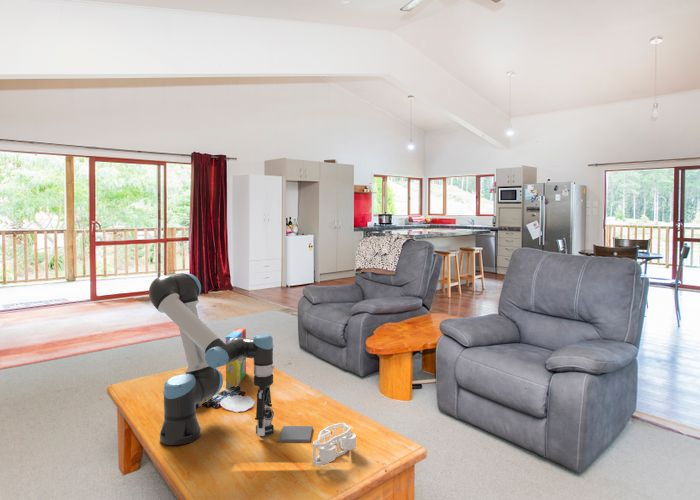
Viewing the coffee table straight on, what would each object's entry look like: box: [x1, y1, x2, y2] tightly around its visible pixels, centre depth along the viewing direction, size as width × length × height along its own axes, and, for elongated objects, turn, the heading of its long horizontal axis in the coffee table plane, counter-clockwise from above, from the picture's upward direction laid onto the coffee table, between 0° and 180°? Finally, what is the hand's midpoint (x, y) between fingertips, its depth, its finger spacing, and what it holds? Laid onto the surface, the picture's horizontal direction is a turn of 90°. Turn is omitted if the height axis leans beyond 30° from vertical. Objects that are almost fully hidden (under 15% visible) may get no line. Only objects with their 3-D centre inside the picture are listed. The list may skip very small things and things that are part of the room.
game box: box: [225, 328, 247, 389], centre depth 241 cm, size 21×6×27 cm, turn 179°
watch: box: [255, 405, 275, 438], centre depth 182 cm, size 6×8×11 cm
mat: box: [277, 425, 314, 443], centre depth 180 cm, size 12×12×1 cm
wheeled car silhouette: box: [312, 422, 357, 467], centre depth 165 cm, size 20×11×7 cm, turn 139°
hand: (264, 429), depth 182 cm, fingers open, 10 cm apart
